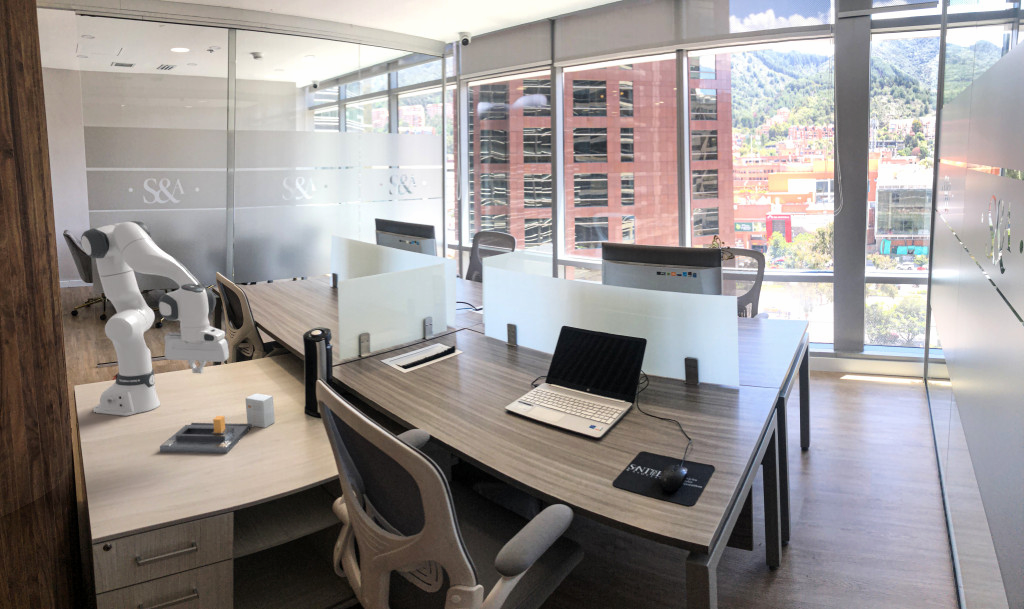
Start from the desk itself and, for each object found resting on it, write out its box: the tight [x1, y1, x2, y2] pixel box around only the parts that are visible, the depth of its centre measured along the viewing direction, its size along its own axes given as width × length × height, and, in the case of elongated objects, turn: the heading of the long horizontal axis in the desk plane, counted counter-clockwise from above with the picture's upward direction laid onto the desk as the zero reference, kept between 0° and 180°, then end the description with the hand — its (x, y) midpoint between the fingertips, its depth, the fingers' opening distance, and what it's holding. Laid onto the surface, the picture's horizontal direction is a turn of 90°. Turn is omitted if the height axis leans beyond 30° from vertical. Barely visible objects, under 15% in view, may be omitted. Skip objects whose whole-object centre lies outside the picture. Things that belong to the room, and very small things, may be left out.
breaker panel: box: [159, 424, 249, 454], centre depth 223 cm, size 22×18×4 cm
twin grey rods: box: [190, 422, 253, 431], centre depth 235 cm, size 22×3×1 cm, turn 91°
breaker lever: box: [211, 415, 228, 435], centre depth 223 cm, size 4×4×6 cm
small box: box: [245, 393, 276, 429], centre depth 239 cm, size 8×6×10 cm
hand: (198, 372), depth 220 cm, fingers closed
